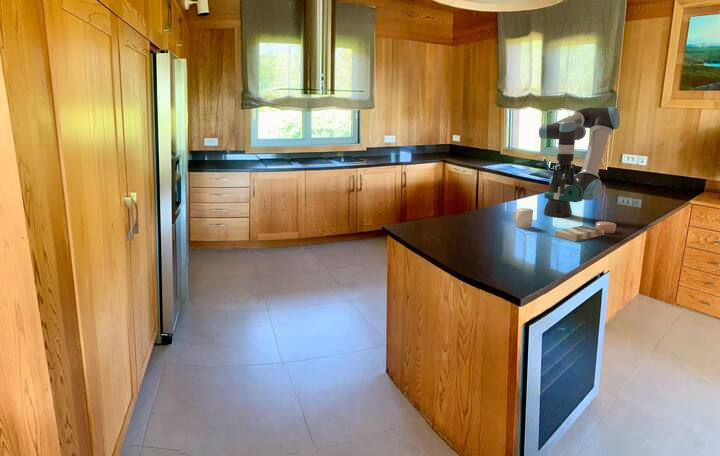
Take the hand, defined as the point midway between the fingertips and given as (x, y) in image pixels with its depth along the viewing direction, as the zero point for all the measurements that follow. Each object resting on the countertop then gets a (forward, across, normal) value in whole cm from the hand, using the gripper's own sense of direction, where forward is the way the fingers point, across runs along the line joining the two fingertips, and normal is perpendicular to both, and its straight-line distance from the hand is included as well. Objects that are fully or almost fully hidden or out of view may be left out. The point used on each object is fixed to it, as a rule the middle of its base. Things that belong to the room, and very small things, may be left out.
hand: (561, 198), depth 255 cm
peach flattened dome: (+15, -12, +18) cm, 26 cm away
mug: (+15, +15, -11) cm, 24 cm away
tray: (+15, +7, +17) cm, 24 cm away
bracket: (+1, 0, 0) cm, 1 cm away
